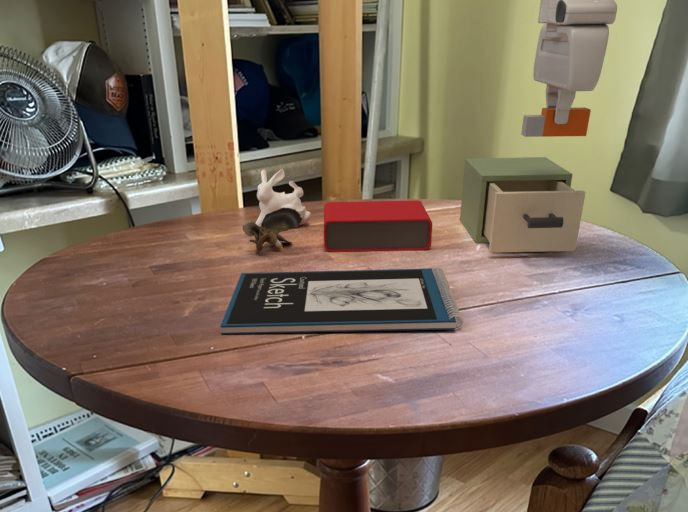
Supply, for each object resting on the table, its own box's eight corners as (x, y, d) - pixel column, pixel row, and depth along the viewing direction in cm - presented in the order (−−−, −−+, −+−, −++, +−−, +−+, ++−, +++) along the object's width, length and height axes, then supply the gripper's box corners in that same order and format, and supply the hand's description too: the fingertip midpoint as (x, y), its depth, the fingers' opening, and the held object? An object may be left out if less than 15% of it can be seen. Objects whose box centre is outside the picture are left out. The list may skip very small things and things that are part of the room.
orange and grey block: (580, 133, 105) (585, 107, 103) (586, 136, 103) (591, 109, 101) (520, 134, 105) (524, 108, 103) (525, 136, 103) (528, 110, 101)
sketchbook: (241, 281, 105) (240, 268, 104) (442, 279, 104) (443, 265, 103) (221, 335, 87) (219, 318, 86) (463, 332, 86) (464, 316, 85)
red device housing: (420, 228, 129) (422, 200, 126) (430, 250, 117) (432, 219, 114) (324, 230, 129) (323, 202, 126) (324, 251, 117) (323, 221, 114)
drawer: (585, 260, 107) (596, 199, 103) (496, 261, 108) (503, 200, 103) (549, 226, 125) (557, 173, 120) (473, 228, 125) (478, 174, 120)
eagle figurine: (284, 252, 113) (312, 229, 119) (257, 213, 111) (287, 191, 116) (256, 270, 119) (284, 247, 124) (230, 233, 116) (260, 212, 122)
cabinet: (561, 241, 120) (572, 173, 114) (475, 243, 120) (482, 175, 114) (537, 218, 134) (545, 157, 128) (459, 219, 134) (464, 158, 128)
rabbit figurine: (247, 231, 130) (243, 174, 124) (247, 221, 136) (243, 167, 131) (312, 228, 131) (310, 172, 125) (309, 218, 137) (307, 165, 131)
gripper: (530, 9, 104) (517, 113, 111) (572, 7, 87) (553, 131, 94) (573, 8, 104) (557, 113, 111) (622, 7, 87) (600, 130, 94)
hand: (555, 121), depth 103 cm, fingers closed on orange and grey block, 2 cm apart
